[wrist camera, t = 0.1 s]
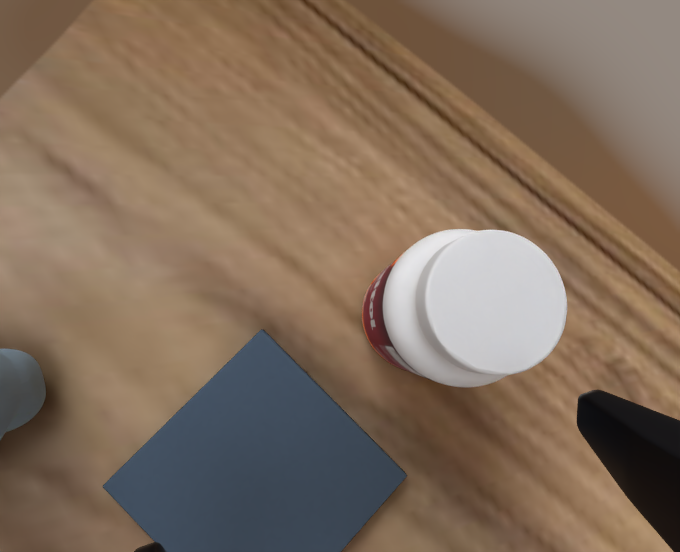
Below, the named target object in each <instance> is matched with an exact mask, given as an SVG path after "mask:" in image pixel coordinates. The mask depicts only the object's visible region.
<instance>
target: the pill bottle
mask: <svg viewBox="0 0 680 552" xmlns="http://www.w3.org/2000/svg"><path fill="white" fill-rule="evenodd" d="M566 315H567V298H566V292H565V288H564V284H563V282H562V279H561V277H560V274H559V272H558V270H557V269H556V267H555V265H554V264H553V262H552V261H551V260H550V258H549V257H548V256H547V255H546V254H545V253H544V252H543V251H542V250H541V249H540V248H539V247H538V246H536V245H535V244H534V243H532V242H531V241H529V240H527V239H526V238H524V237H522V236H519V235H517V234H514V233H511V232H507V231H502V230H481V231H475V230H468V229H451V230H445V231H441V232H437V233H434V234H432V235H429V236H427V237H425V238H423V239H421V240H420V241H418V242H417V243H415V244H414V245H412V246H411V247H410V248H409V249H407V250H406V251H405V252H404V253H403V254H402V255H401V256H400V257H398V258H397V259H396V260H395V261H394V262H393V263H391V264H390V265H389V266H388V267H387V268H385V269H384V270H383V271H382V272H381V273H380V274H379V275H378V276H377V277H376V278H375V279H374V280H373V282H372V283H371V284H370V286H369V288H368V290H367V292H366V294H365V297H364V301H363V306H362V323H363V328H364V331H365V334H366V337H367V339H368V341H369V343H370V344H371V346H372V347H373V349H374V350H375V351H376V352H377V353H378V354H379V355H380V356H381V357H382V358H383V359H385V360H386V361H387V362H389V363H390V364H392V365H394V366H396V367H398V368H401V369H404V370H406V371H409V372H412V373H414V374H417V375H420V376H422V377H425V378H427V379H430V380H432V381H435V382H438V383H441V384H445V385H449V386H455V387H478V386H483V385H487V384H490V383H493V382H496V381H498V380H500V379H502V378H504V377H506V376H507V375H511V374H516V373H519V372H523V371H526V370H528V369H530V368H532V367H534V366H535V365H537V364H539V363H540V362H541V361H542V360H544V359H545V358H546V357H547V356H548V355H549V354H550V353H551V351H552V350H553V349H554V348H555V346H556V345H557V343H558V341H559V339H560V337H561V335H562V333H563V330H564V326H565V323H566Z"/></svg>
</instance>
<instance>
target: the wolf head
mask: <svg viewBox="0 0 680 552" xmlns="http://www.w3.org/2000/svg"><path fill="white" fill-rule="evenodd" d="M45 397H46V386H45V382H44V378H43V374H42V371H41V368H40V366H39V364H38V362H37V361H36V360H35V359H34V358H33V357H32V356H30V355H29V354H27V353H25V352H22V351H19V350H15V349H0V440H1V439H2V437H3V436H4V434H5V432H8V431H11V430H13V429H15V428H18V427H20V426H22V425H23V424H25V423H27V422H28V421H29V420H31V419H32V418H33V417H34V416H35V415H36V414H37V413H38V412H39V410H40V409H41V408H42V406H43V403H44V401H45Z"/></svg>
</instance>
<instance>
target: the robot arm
mask: <svg viewBox="0 0 680 552" xmlns="http://www.w3.org/2000/svg"><path fill="white" fill-rule="evenodd" d="M577 426H578V429H579V431H580V432H581V434H582V435H583V437H584V438H585V440H586V441H587V442H588V444H589V445H590V447H591V448H592V449H593V451H594V452H595V453H596V455H597V456H598V458H599V459H600V460H601V462H602V463H603V465H604V466H605V467H606V469H607V470H608V472H609V473H610V474H611V476H612V477H613V478H614V480H615V481H616V483H617V484H618V485H619V487H620V488H621V489H622V491H623V492H624V493H625V495H626V496H627V497H628V499H629V500H630V501H631V502H632V503H633V505H634V506H635V507H636V508H637V509H638V511H639V512H640V513H641V514H642V515H643V516H644V518H645V519H646V520H647V521H648V522H649V523H650V524H651V526H652V527H653V528H654V529H655V530H656V531H657V533H658V534H659V535H660V536H661V537H662V538H663V539H664V541H665V542H666V543H667V544H668V545H669V546H670V548H671V549H672V550H673V551H674V552H680V421H679V420H677V419H674V418H672V417H669V416H666V415H664V414H661V413H659V412H656V411H653V410H651V409H648V408H646V407H643V406H641V405H638V404H635V403H633V402H630V401H628V400H625V399H623V398H620V397H617V396H615V395H612V394H610V393H607V392H604V391H602V390H592V391H589V392H587V393H584V394H581V395H580V396H579V398H578V408H577ZM134 552H166V551H165V549H164V548H163V546H162V545H161V544H160V543H158V542H153V543H151V544H148V545H145V546H142V547H139V548H138V549H136V550H135V551H134Z"/></svg>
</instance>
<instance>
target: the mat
mask: <svg viewBox="0 0 680 552" xmlns="http://www.w3.org/2000/svg"><path fill="white" fill-rule="evenodd" d="M406 477H407V475H406V473H405V472H404V471H403V470H402V469H401V468H400V467H399V466H398V465H397V464H396V463H395V462H394V461H393V460H392V459H391V458H390V457H389V456H388V455H387V454H386V453H385V452H384V451H383V450H382V449H381V448H380V447H379V446H378V445H377V444H376V443H375V442H374V441H373V440H372V439H371V438H370V437H369V436H368V435H367V434H366V433H365V432H364V431H363V430H362V429H361V428H360V427H359V426H358V425H357V424H356V423H355V422H354V421H353V420H352V418H351V417H350V416H349V415H348V414H347V413H346V412H345V411H344V410H343V409H342V408H341V407H340V406H339V405H338V404H337V403H336V402H335V401H334V400H333V399H332V398H331V397H330V396H329V395H328V394H327V393H326V392H325V391H324V390H323V389H322V388H321V387H320V386H319V385H318V384H317V383H316V382H315V381H314V380H313V379H312V378H311V377H310V376H309V375H308V374H307V373H306V372H305V371H304V370H303V369H302V368H301V367H300V366H299V365H298V364H297V363H296V362H295V361H294V360H293V359H292V358H291V357H290V356H289V355H288V354H287V353H286V352H285V351H284V350H283V349H282V348H281V347H280V346H279V345H278V344H277V343H276V342H275V341H274V340H273V339H272V338H271V337H270V336H269V335H268V334H267V333H266V332H265V331H264V330H260V331H259V332H258V333H257V334H256V335H255V336H254V337H253V338H252V339H251V340H250V341H249V342H248V343H247V344H246V345H245V346H244V347H243V348H242V349H241V350H240V351H239V352H238V353H237V354H236V355H235V356H234V357H233V358H232V359H231V360H230V361H229V362H228V363H227V364H226V365H225V366H224V367H223V368H222V369H221V370H220V371H219V372H218V373H217V374H216V375H215V376H214V377H213V378H212V379H211V380H210V381H209V382H208V383H207V384H205V385H204V386H203V387H202V388H201V389H200V390H199V391H198V392H197V393H196V394H195V395H194V396H193V397H192V398H191V399H190V400H189V401H188V402H187V403H186V404H185V405H184V406H183V407H182V408H181V409H180V410H179V411H178V412H177V413H176V414H175V415H174V416H173V417H172V418H171V419H170V420H169V421H168V422H167V423H166V424H165V425H164V426H163V427H162V428H161V429H160V430H159V431H158V432H157V433H156V434H155V435H154V436H153V437H152V438H151V439H150V440H149V441H148V442H147V443H146V444H145V445H144V446H143V447H142V448H141V449H140V450H139V451H138V452H136V453H135V454H134V455H133V456H132V457H131V458H130V459H129V460H128V461H127V462H126V463H125V464H124V465H123V466H122V467H121V468H120V469H119V470H118V471H117V472H116V473H115V474H114V475H113V476H112V477H111V478H110V479H109V480H108V481H107V482H106V483H105V484H104V485H103V488H104V489H105V490H106V491H107V492H108V493H109V494H110V495H111V496H112V497H113V498H114V499H115V500H116V501H117V502H118V503H119V504H120V505H121V507H122V508H123V509H124V510H125V511H126V512H127V513H128V514H129V515H130V516H131V517H132V518H133V519H134V520H135V521H136V522H137V523H138V524H139V526H140V527H141V528H142V529H143V530H144V531H145V532H146V533H147V534H148V535H149V536H150V537H151V538H152V539H153V540H154V541H155V542H158V543H160V544H161V545H162V546H163V548H164V549H165V551H166V552H341V551H342V550H343V549H344V548H345V546H346V545H347V544H348V543H349V542H350V541H351V540H352V538H353V537H354V536H355V535H356V534H357V533H358V532H359V530H360V529H361V528H362V527H363V526H364V525H365V524H366V522H367V521H368V520H369V519H370V518H371V517H372V516H373V514H374V513H375V512H376V511H377V510H378V509H379V508H380V506H381V505H382V504H383V503H384V502H385V501H386V500H387V498H388V497H389V496H390V495H391V494H392V493H393V492H394V490H395V489H396V488H397V487H398V486H399V485H400V484H401V482H402V481H403V480H404V479H405V478H406Z"/></svg>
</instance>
